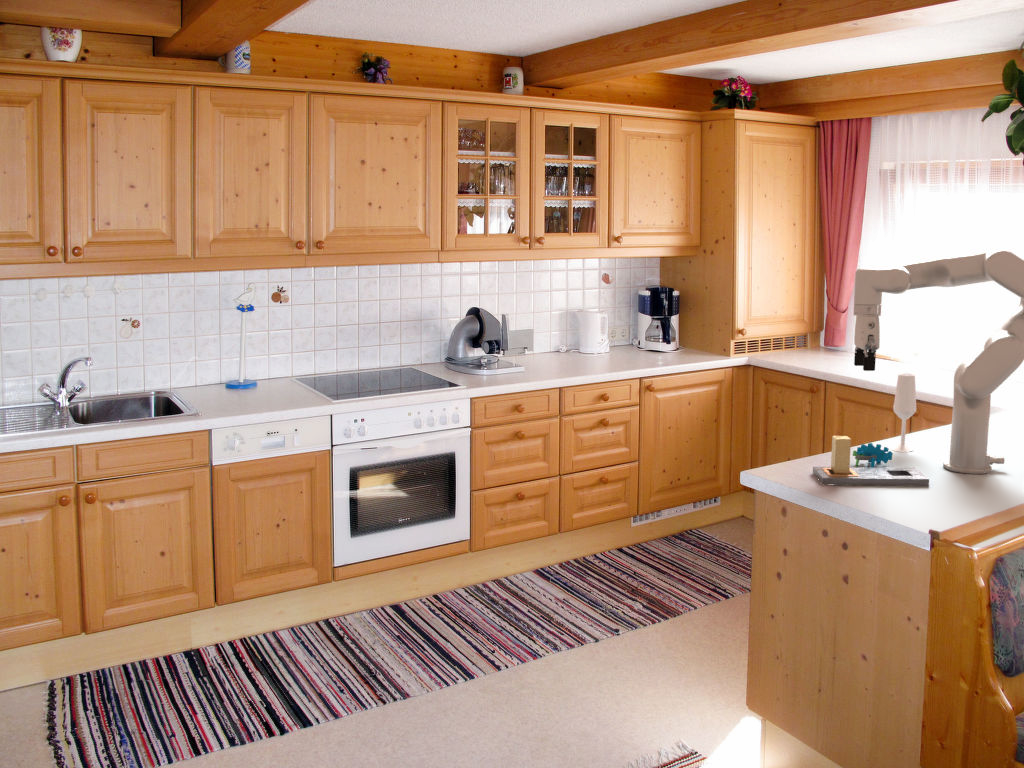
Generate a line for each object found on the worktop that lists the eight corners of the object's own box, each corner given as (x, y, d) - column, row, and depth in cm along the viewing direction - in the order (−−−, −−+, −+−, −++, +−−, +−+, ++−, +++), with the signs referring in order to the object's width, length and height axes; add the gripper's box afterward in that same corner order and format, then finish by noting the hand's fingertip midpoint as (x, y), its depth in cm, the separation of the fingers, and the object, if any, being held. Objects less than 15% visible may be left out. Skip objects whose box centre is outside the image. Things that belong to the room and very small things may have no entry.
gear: (897, 460, 272) (887, 441, 266) (894, 477, 269) (884, 458, 263) (859, 459, 279) (849, 441, 273) (855, 476, 276) (845, 458, 270)
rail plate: (914, 474, 262) (914, 467, 262) (928, 486, 250) (929, 478, 250) (812, 473, 265) (813, 466, 264) (822, 485, 253) (822, 477, 252)
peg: (845, 477, 260) (847, 436, 258) (848, 481, 256) (850, 439, 254) (830, 477, 260) (832, 435, 258) (834, 481, 256) (835, 439, 254)
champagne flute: (904, 446, 295) (908, 372, 291) (918, 451, 288) (923, 375, 284) (886, 448, 293) (890, 373, 289) (900, 452, 287) (904, 376, 283)
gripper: (889, 312, 261) (886, 372, 264) (872, 307, 278) (869, 363, 281) (862, 313, 262) (859, 372, 265) (846, 307, 279) (843, 363, 282)
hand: (864, 368), depth 273 cm, fingers open, 9 cm apart
